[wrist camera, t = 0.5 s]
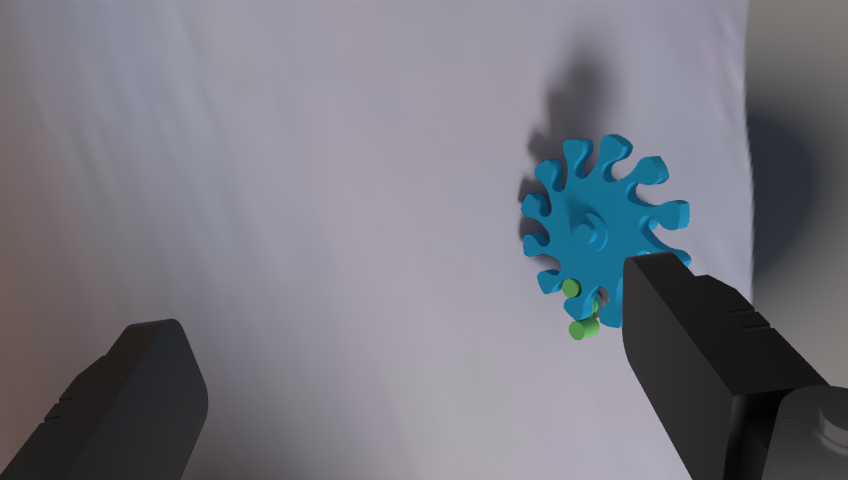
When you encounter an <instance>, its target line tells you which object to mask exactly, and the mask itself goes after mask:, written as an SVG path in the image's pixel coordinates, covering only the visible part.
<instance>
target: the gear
mask: <svg viewBox="0 0 848 480" xmlns="http://www.w3.org/2000/svg"><path fill="white" fill-rule="evenodd" d="M632 149H633V145H632V144H631V143H630V142H629V141H628V140H627V139H625V138H623V137H622V136H619V135H617V134H611V135H606V136H604V137H603V139H602V141H601V143H600V153H599V158H598V161H597V163H596V165H595V167H594V169H593V170H592V171H591V173H590V174H589V175H588V176H586V174H585V173H584V164H585V162H586V161H587V159H588V158H589V157H590V156H591V154H592V151H593V143H592V141H591V140H588V139H574V140H567V141H564V144H563V152H564V155H565V157H566V161H567V167H568V175H567V181H566V186H565V188H564V189H563V188H562V186H561V176H562V171H563V169H562V164H561V162H560V161H559V160H558V159H552V160H546V161H543V162H542V163H540V164H539V165H538V166H537V167H536V168H535V175H536V178H537V179H538V180H539V181H540V182H541V183H542V184H543V185H544V186H545V188H546V189H547V191H548V194H549V197H550V201H551V206H552V211H551V213H550V212H549V211H548V207H547V203H546V199H545V197H544V196H543V195H542V194H540V193H534V194H528V195H527V196H526V197H525V199H524V201H523V204H522V207H521V211H522V213H523V214H524V215H525V216H527V217H532V218H534V219H536V220H538V221H539V222H540V223H541V224H542V225H543V226H544V227H545V229H546V230H547V231H548V233H549V235H550V243H549V242H548V241H547V240H546V238H545V237H544V236H543V235H542V234H541V233H533V234H527V235H525V236H524V241H523V248H524V254H525V255H526V256H528V257H532V256H537V255H541V254H547V255H550V256H552V257H554V258H556V259H557V260H558V261H559V263H560V266H561V270H560V272H559V271H557V270H555V269H551V270H547V271H542V272H540V273H539V274H538V275H537V279H538V282H539V285H540V287H541V289H542V291H543V293H544V294H550V293H553V292H557V291H559V290H560V289H561V288H562V289H563V292H564V294H565V295H566V296H567V297H570V298H568V299H567V300H566V301H565V303H564V309H565V310H566V312H567V313H568V314H569V315H570V316H571V317H572V318H574V319H575V320H576V321H574V322H572V323H571V324H570V326H569V332H570V335H571V336H572V337H573V338H574V339H576V340H581V339H584V338H587V337H590V336H593V335H595V334H597V333H598V332H599V323H598V321H597V320H596V319H595V318H598V317H599V319H600V322H601V323H602V324H604V325H606V326H609V327H615V328H620V327H622V302H623V265H624V261H625V259H626V258H627V257H630V256H638V255H645V254H647V252H650V253H651V254H652V253H659V252H667V251H671V252H673V253H674V254H676V256H677V257H678V258H679V259H680V260H681V261H682V262H683V263H684V265H685V266H686V267H687V268H688V266H689V264H690V262H691V260H692V259H691V257H690V256H689V255H688V254H687V253H686V252H685V251H682V250H678V249H674V248H671V247H668V246H667V245H665V244H663V243H662V242H661V241H660V240H659V239H658V238H657V237H656V236H655V235H654V234H653V232H652V231H651V230H653V229H655V228H656V227H657V225H658V222H659V223H660V225H661V226H662V227H664V228H665V229H668V230H676V229H681V228H685V227H687V225H688V222H689V203H688V202H686V201H684V200H676V201H669V202H666V203H664V204H662V205H652V204H648V203H645V202H642V201H640V200H639V199H638V197H637V195H636V187H637V185H638V184H639V183H641V184H644V185H654V184H661V183H664V182H665V181H666V180H667V179H668V178H669V173H668V170H667V167H666V165H665V163H664V162H663V160H662V159H661V157H660V156H653V157H645V158H643V159H641V160H640V161H639V162H638V164H637V166H636V167H635V169H634V170H633V171H632V172H631V173H630V174H629V175H628V176H627V177H625V178H623V179H621V180H618V181H617V180H615V179H614V178H613V176H612V173H611V169H612V166H613V164H614V163H615V162H617V161H620V160H623V159H625V158H627V157H628V156H629V155H630V154H631V152H632Z"/></svg>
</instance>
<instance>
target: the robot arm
mask: <svg viewBox="0 0 848 480" xmlns="http://www.w3.org/2000/svg"><path fill="white" fill-rule="evenodd" d="M622 335H623V343H624V348H625V352H626V355H627V358H628V361H629V364H630V366H631V368H632V369H633V371H634V373H635V375H636V377H637V379H638V380H639V382H640V384H641V386H642V388H643V390H644V392H645V393H646V395H647V397H648V399H649V401H650V403H651V404H652V406H653V408H654V410H655V412H656V414H657V415H658V417H659V419H660V421H661V423H662V425H663V427H664V428H665V430H666V432H667V434H668V436H669V438H670V439H671V441H672V443H673V445H674V447H675V449H676V450H677V452H678V454H679V456H680V458H681V460H682V462H683V463H684V465H685V467H686V469H687V471H688V473H689V474H690V476H691V478H692V480H848V388H843V387H837V386H830V385H829V384H828V383H827V382H826V381H825V380H824V379H823V378H822V377H821V376H820V375H819V374H818V373H817V372H816V370H814V369H813V367H812V366H811V365H810V364H809V363H808V362H807V361H806V360H805V359H804V358H803V357H802V356H801V355H800V354H799V353H798V352H797V351H796V350H795V349H794V348H793V347H792V346H791V345H790V344H789V343H788V342H787V341H786V340H785V339H784V338H783V337H782V336H781V335H780V334H779V333H778V332H777V331H776V330H775V329H774V328H771V327H770V323H769V322H768V321H767V320H766V319H765V318H764V317H763V316H762V315H761V314H760V313H759V312H755V310H754V307H753V306H752V305H751V304H750V303H749V302H748V301H747V300H746V299H745V298H744V297H743V296H742V295H741V294H740V293H739V292H738V291H737V290H736V289H735V288H733V287H731V286H729V285H727V284H725V283H723V282H721V281H719V280H717V279H715V278H713V277H711V276H709V275H702V276H694V275H693V274H692V272H691V271H690V270H689V269H688V268H687V267H686V266H685V265H684V263H683V262H682V261H681V260H680V259H679V258H678V257H677V256H676V254H674V253H673V252H671V251H667V252H659V253H652V254H645V255H638V256H630V257H627V258H626V259H625V261H624V265H623V302H622ZM207 411H208V394H207V388H206V385H205V382H204V379H203V377H202V374H201V372H200V369H199V367H198V364H197V362H196V359H195V357H194V355H193V352H192V350H191V347H190V345H189V342H188V340H187V337H186V335H185V332H184V330H183V328H182V326H181V324H180V323H179V322H178V321H177V320H175V319H166V320H159V321H151V322H144V323H137V324H131V325H129V326H128V327H127V328H126V329H125V330H124V331H123V333H122V334H121V335H120V337H119V338H118V339H117V341H116V342H115V343H114V345H113V346H112V347H111V349H110V350H109V351H108V353H107V354H106V356H102V357H101V358H99V359H98V360H97V361H96V362H94V363H93V364H92V365H90V366H89V367H88V368H87V369H85V370H84V371H83V372H82V373H80V374H79V375H78V376H77V377H76V378H75V379H74V380H73V382H72V383H71V384H70V386H69V387H68V388H67V389H66V391H65V392H64V393H63V395H62V396H61V397H60V398H59V403H58V404H55V405H54V406H53V408H52V409H51V410H50V411H49V413H48V414H47V415H46V417H45V418H44V419H45V422H44V423H40V424H39V426H38V427H37V428H36V430H35V431H34V432H33V433H32V435H31V436H30V437H29V439H28V440H27V441H26V443H25V444H24V445H23V446H22V448H21V449H20V450H19V452H18V453H17V454H16V455H15V457H14V458H13V459H12V461H11V462H10V463H9V465H8V466H7V467H6V468H5V470H4V471H3V472H2V474H1V475H0V480H180V478H181V476H182V474H183V471H184V469H185V467H186V464H187V462H188V460H189V457H190V455H191V453H192V450H193V448H194V446H195V443H196V441H197V438H198V436H199V434H200V431H201V429H202V427H203V424H204V422H205V419H206V416H207Z"/></svg>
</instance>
